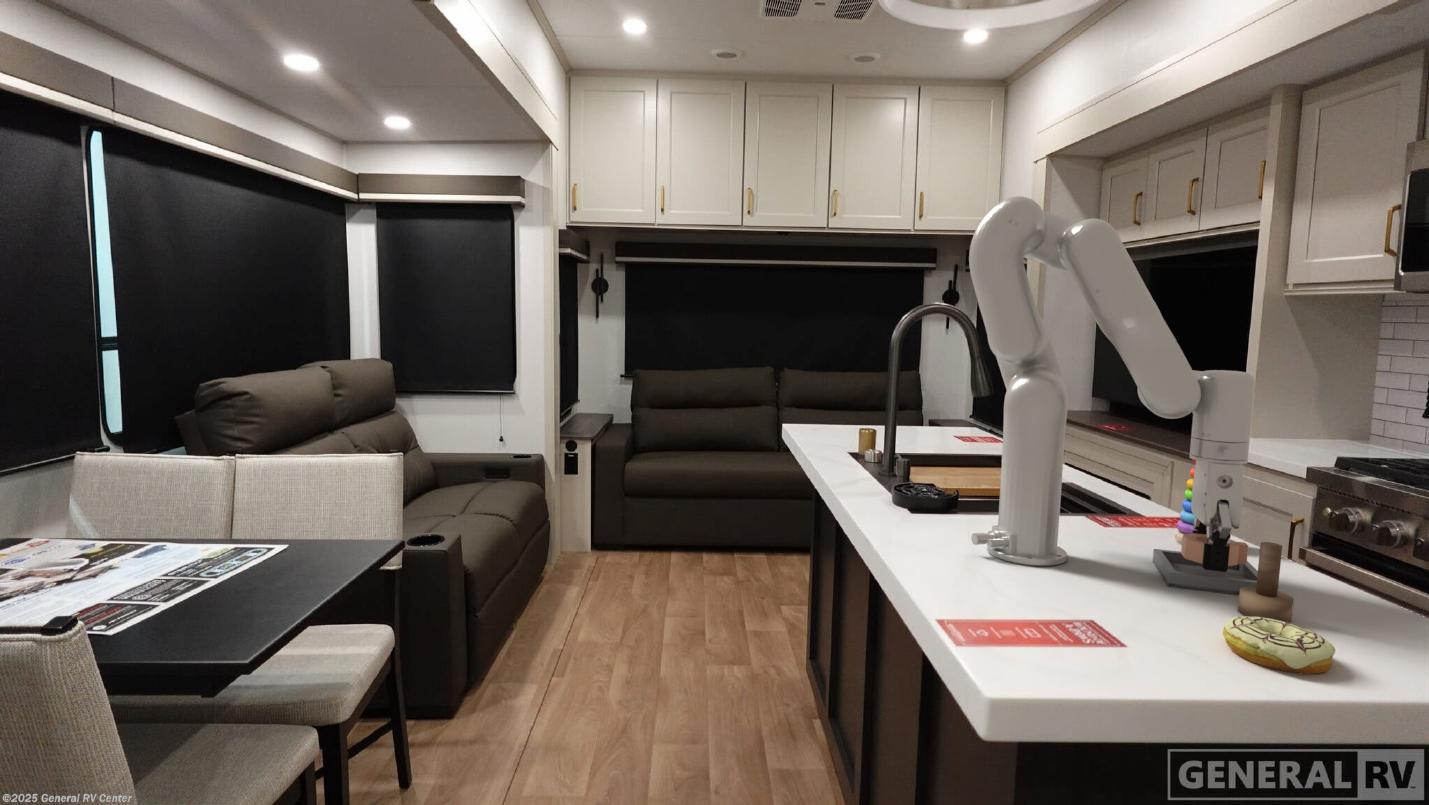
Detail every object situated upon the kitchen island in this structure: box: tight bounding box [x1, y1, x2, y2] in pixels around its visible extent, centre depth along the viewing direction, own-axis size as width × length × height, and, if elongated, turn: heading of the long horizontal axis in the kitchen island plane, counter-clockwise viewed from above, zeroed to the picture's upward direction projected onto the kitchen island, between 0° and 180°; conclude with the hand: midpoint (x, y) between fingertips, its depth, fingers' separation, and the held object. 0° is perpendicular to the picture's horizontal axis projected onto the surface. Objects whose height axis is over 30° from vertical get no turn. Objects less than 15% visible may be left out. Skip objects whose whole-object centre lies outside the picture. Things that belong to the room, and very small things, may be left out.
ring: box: [1180, 533, 1249, 566], centre depth 119 cm, size 7×8×3 cm
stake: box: [1237, 541, 1295, 624], centre depth 105 cm, size 6×6×10 cm
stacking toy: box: [1174, 459, 1219, 545], centre depth 138 cm, size 8×8×19 cm
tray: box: [1152, 548, 1258, 596], centre depth 120 cm, size 13×13×2 cm
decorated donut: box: [1222, 615, 1336, 675], centre depth 92 cm, size 10×11×4 cm
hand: (1208, 562), depth 120 cm, fingers closed on ring, 7 cm apart
